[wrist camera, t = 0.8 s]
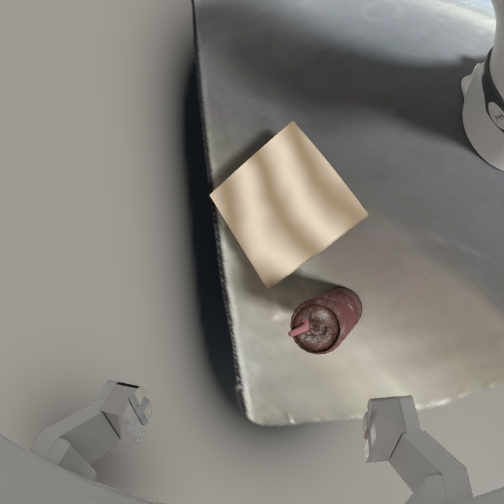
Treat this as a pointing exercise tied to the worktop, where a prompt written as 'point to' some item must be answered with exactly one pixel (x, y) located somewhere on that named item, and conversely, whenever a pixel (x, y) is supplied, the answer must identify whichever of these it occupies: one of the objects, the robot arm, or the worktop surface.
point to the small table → (286, 205)
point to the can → (325, 320)
